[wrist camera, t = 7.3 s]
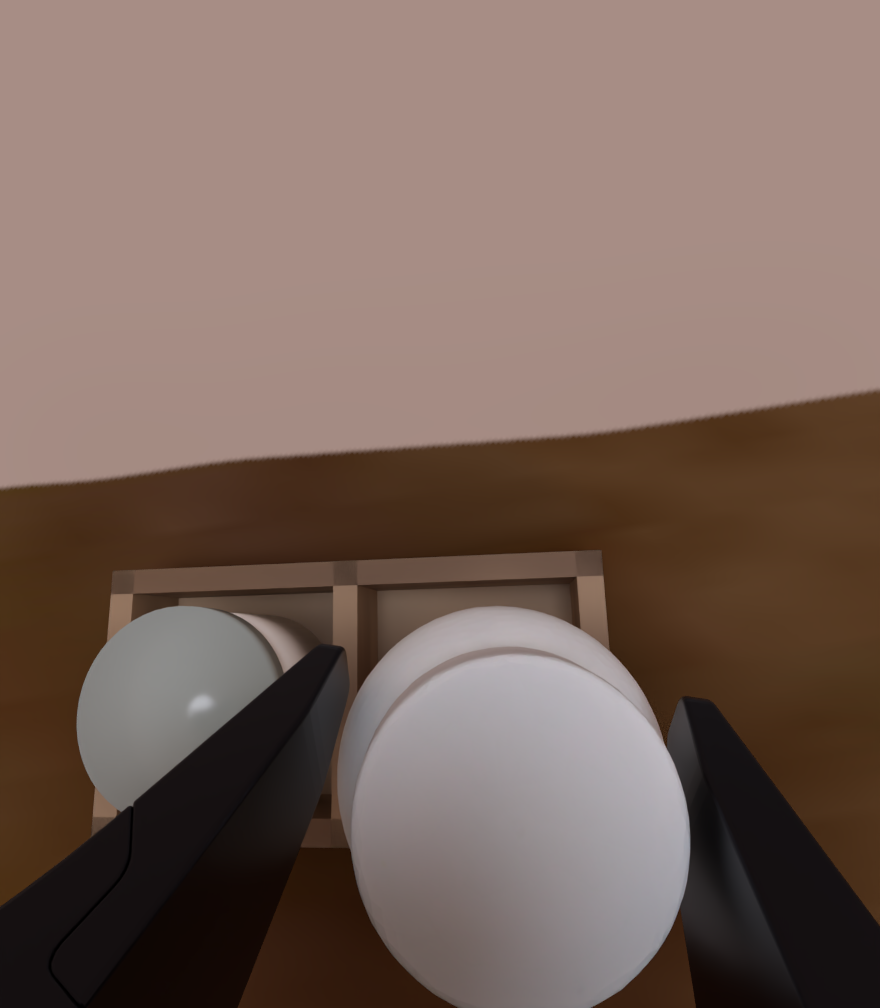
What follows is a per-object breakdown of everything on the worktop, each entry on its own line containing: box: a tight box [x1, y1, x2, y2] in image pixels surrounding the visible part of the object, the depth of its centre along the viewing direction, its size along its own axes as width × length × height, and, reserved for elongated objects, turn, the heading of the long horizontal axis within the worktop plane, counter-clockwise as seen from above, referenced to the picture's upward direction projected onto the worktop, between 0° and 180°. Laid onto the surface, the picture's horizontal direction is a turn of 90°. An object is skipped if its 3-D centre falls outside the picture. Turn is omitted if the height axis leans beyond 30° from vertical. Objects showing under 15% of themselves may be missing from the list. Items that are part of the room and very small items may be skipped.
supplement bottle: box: [337, 606, 690, 1008], centre depth 12 cm, size 5×5×10 cm
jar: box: [77, 606, 322, 812], centre depth 20 cm, size 6×6×6 cm
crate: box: [91, 550, 609, 848], centre depth 21 cm, size 9×16×4 cm, turn 92°
